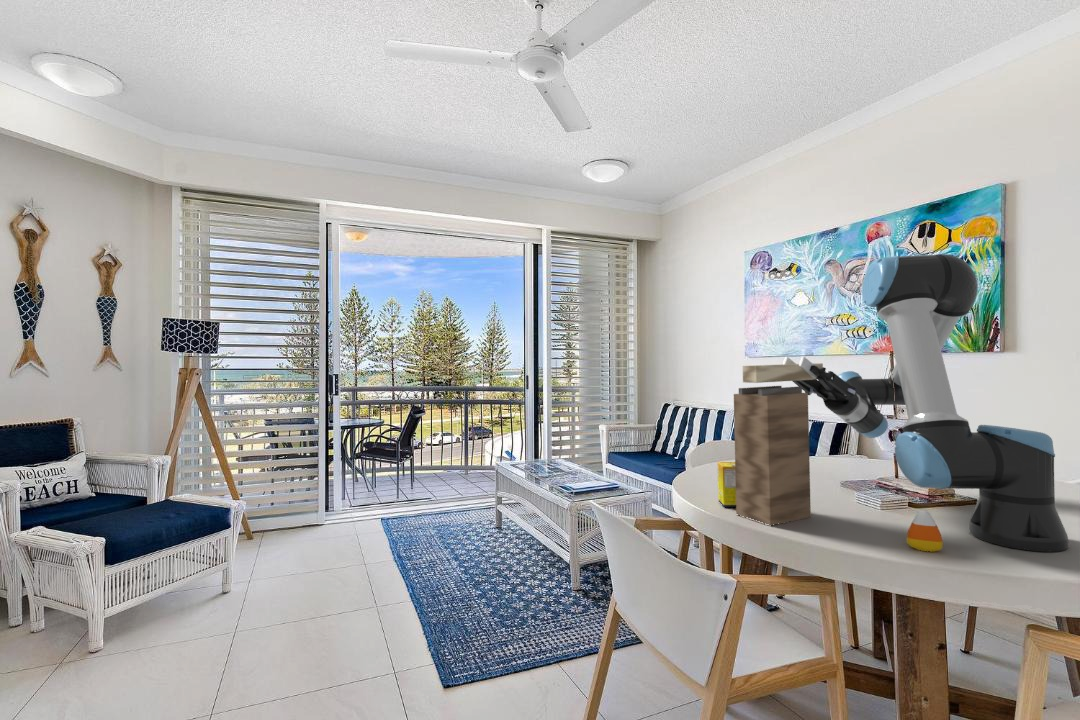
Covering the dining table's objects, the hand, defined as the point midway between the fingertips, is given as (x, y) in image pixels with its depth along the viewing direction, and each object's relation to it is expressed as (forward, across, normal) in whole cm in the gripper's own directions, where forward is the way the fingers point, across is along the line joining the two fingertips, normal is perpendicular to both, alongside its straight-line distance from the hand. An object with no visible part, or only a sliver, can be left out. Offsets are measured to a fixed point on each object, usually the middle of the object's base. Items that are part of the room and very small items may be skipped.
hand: (792, 361), depth 132 cm
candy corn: (-18, -30, -34) cm, 48 cm away
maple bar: (+1, 0, -6) cm, 6 cm away
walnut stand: (-12, 0, -37) cm, 39 cm away
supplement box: (-11, +12, -38) cm, 41 cm away
